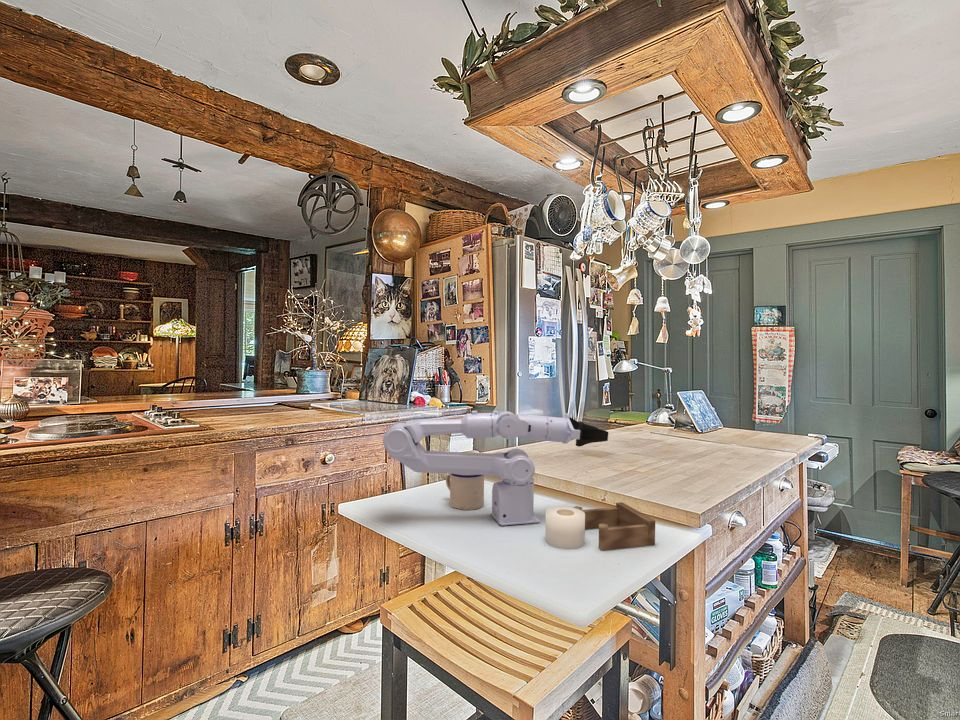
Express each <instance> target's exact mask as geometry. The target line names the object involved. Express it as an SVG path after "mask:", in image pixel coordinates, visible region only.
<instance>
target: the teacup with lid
mask: <svg viewBox="0 0 960 720" xmlns="http://www.w3.org/2000/svg"><path fill="white" fill-rule="evenodd" d="M445 484H446V487H447V489H448V491H449V505H450V506H451V507H452V508H453V507H454V508H453V509H456V508H457V509H456V510H461V509H463V510H462V511H472V510H473V509H474V510H477V509H481V508H482V507H483V506H484V505H485V475H471V474H446V475H445Z"/></svg>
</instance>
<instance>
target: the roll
mask: <svg viewBox="0 0 960 720" xmlns="http://www.w3.org/2000/svg"><path fill="white" fill-rule="evenodd" d="M544 534H545V535H544V536H545V542H546V544H547V545H549V546H551V547H554V548H557V549H561V550H576V549H579V548H582V547H584V546H585V542H586V541H585V538H586V537H585V536H586V530H585V513H584V512H583V511H581V510H579V509H576V508H574V507H571V506H553V507H549V508H547V509H546V511H545V533H544Z"/></svg>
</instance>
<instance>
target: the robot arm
mask: <svg viewBox="0 0 960 720" xmlns="http://www.w3.org/2000/svg"><path fill="white" fill-rule="evenodd" d="M452 434H453V435H454V434H463V435H464V436H465V438H467V439H483V438H484V439H485V438H486V439H487V438H496V437H497V436H500V437H502V438H503V439H506V440H513V439H515V438H521V439H525V440H533V441H535V440H536V441H544V442H556V443H562V444H568V443H569V442H571V441H573V440H575V446H576V447H583V446H586V445H588V444H592V443H603V442H608V440H609V431H607V430H604V429H600V428H599V427H596V426H593V425H591V424H586V423H585V422H583V421H580V420H579V421H578V420H577V419H574V418H572V417H570V414H569V413H568V412H565V413H564V416H563V417H559V416H558V417H557V416H549V415H548V416H546V415H537V414H523V413H517V414H516V413H515V414H514V413H513V412H511V411H508V410H507V411H506V410H504V409H503V410H501V411H498V410H493V412H478V410H471V413H466V414H465V415H464V416H463V417H462V418H460V419H459V418H458V419H457V418H455V419H454V418H453V419H452V418H450V419H447V418H445V419H442V418H440V419H439V418H438V419H437V418H434V419H433V418H431V419H430V418H429V419H428V418H424V419H411V420H407V421H396V422H394V423H392V424H391V426H390V427H389V428H388V429H387V430H386V432H385V433H384V435H383V437H382V445H383V448H384V450H385V451H386V452H387V453H388V456H390V458H391V459H393V460H396V461H397V462H399V463H401V464H402V465H404V466H406V468H408V469H409V470H412V472H416V473H426V474H446V475H447V474H471V475H484V476H493V477H496V478H499V479H500V480H501V479H502V480H501V481H498V482H494V483H493V484H492V490H491V499H492V500H491V512H490V515H491V516H492V517H493V518H494V520H495V521H496V522H497V523H498V524H499V525H500V526H501V527H502V526H513V525H524V524H525V525H527V524H535V523H536V524H537V523H540V519H539V518H538V517H536V516H535V514H534V505H535V504H534V496H535V494H534V493H535V492H534V491H535V488H534V487H535V486H534V485H535V479H534V478H533V477H534V476H535V473H536V469H535V464H534V462H533V461H532V460H531V459H530V458H529V455H528V453H527V452H526V451H524V450H523V449H521V448H512V449H510V450H507V451H498V452H494V453H493V452H492V453H487V452H486V453H484V452H467V451H466V452H464V451H463V452H462V451H461V452H460V451H459V452H458V451H441V450H440V451H438V450H426V449H425V447H424V446H423V445H422V443H421V442H420V441H422V440H423V439H425V438H426V437H428V436H437V435H439V436H440V435H452Z"/></svg>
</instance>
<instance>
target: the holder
mask: <svg viewBox="0 0 960 720" xmlns="http://www.w3.org/2000/svg"><path fill="white" fill-rule="evenodd" d="M573 508H576V509H579V510H581V511H583V512H584V513H585V531H586V530H596V529H598V549H599V550H600V551H601V552H602V551H603V552H604V551H612V550H619V549H621V548H622V549H630V547H631V548H638V547H648V546H655V545H656V520H655V519H653V518H651V517H650V516H648V515H646V514H644V513H643V512H641V511H639V510H637V509H635V508H634V507H632V506H629V505H628V504H626V503H624V502H621V501H620V502H616V503H615V507H614V506H612V507H605V508H604V507H602V508H590V509H583V507H582V506H579V505H578V506H574V507H573Z"/></svg>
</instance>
